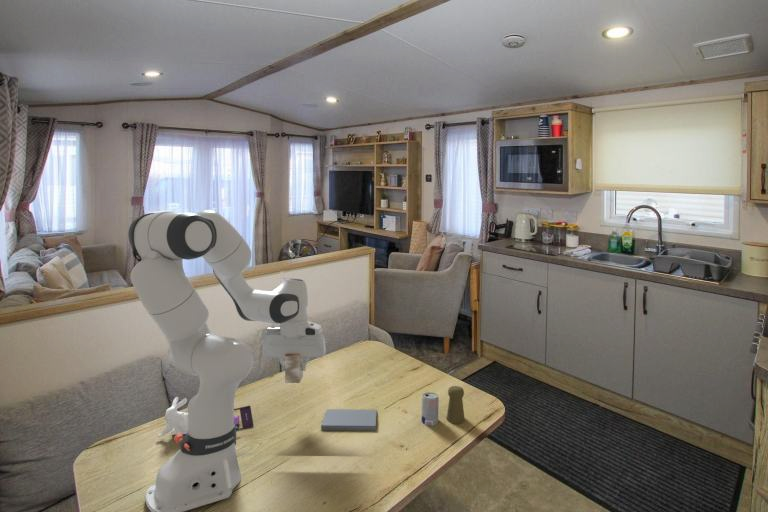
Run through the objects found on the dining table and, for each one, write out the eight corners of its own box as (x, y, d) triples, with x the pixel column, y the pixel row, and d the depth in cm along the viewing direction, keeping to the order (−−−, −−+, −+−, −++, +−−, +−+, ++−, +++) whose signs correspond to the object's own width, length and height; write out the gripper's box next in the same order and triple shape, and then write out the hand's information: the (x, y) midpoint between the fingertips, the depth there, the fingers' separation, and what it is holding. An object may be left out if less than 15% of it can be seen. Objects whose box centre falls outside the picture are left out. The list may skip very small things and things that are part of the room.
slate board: (376, 413, 144) (376, 409, 144) (375, 430, 132) (375, 425, 132) (326, 413, 144) (326, 409, 144) (321, 430, 132) (321, 425, 132)
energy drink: (427, 425, 143) (428, 390, 142) (441, 430, 139) (441, 395, 138) (418, 431, 138) (418, 395, 138) (432, 436, 135) (432, 400, 134)
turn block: (285, 382, 135) (284, 354, 134) (289, 376, 141) (289, 349, 140) (299, 382, 135) (299, 355, 134) (303, 376, 141) (302, 349, 140)
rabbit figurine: (155, 437, 128) (154, 405, 127) (165, 425, 135) (164, 396, 135) (197, 434, 129) (196, 403, 129) (204, 423, 137) (204, 394, 136)
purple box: (253, 425, 134) (223, 432, 130) (252, 430, 138) (223, 437, 134) (250, 404, 137) (220, 411, 133) (249, 410, 141) (220, 416, 137)
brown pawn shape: (445, 422, 138) (445, 389, 137) (447, 414, 144) (448, 383, 143) (463, 425, 136) (464, 391, 135) (465, 417, 142) (466, 385, 141)
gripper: (258, 329, 134) (259, 373, 134) (323, 330, 133) (323, 373, 134) (264, 325, 140) (265, 366, 141) (326, 326, 140) (326, 367, 140)
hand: (294, 370), depth 137 cm, fingers closed on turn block, 4 cm apart
